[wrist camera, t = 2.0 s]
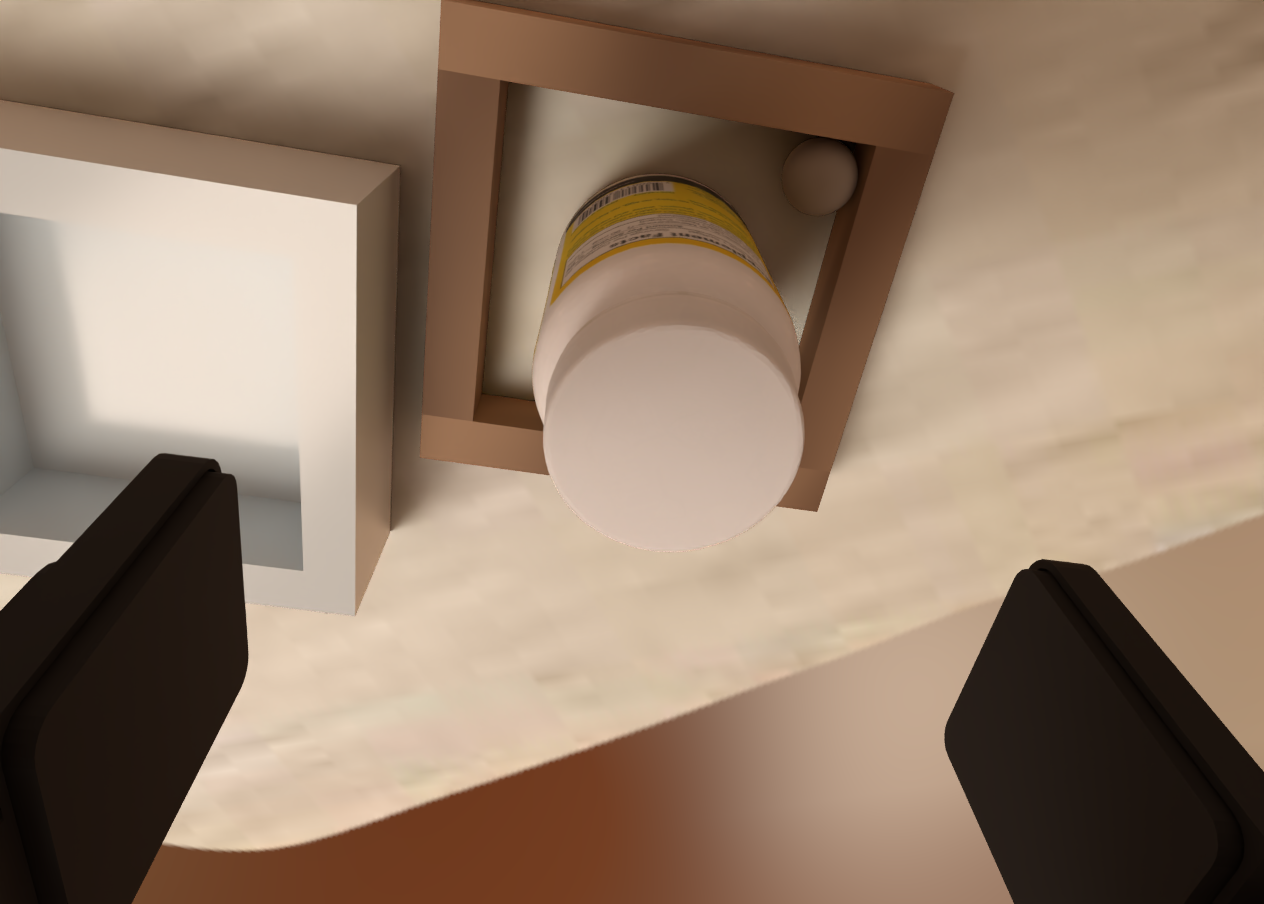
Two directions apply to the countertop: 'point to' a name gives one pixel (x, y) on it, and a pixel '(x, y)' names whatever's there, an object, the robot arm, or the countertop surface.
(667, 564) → the countertop surface
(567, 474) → the supplement bottle
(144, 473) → the robot arm
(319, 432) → the grey square open box
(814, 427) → the tray
